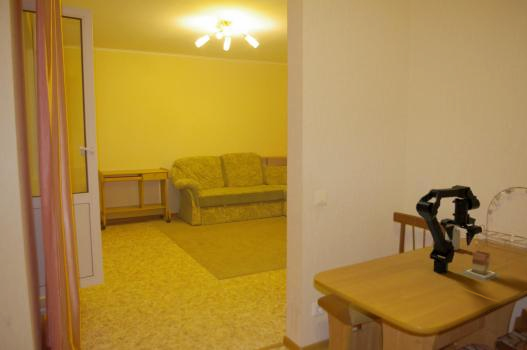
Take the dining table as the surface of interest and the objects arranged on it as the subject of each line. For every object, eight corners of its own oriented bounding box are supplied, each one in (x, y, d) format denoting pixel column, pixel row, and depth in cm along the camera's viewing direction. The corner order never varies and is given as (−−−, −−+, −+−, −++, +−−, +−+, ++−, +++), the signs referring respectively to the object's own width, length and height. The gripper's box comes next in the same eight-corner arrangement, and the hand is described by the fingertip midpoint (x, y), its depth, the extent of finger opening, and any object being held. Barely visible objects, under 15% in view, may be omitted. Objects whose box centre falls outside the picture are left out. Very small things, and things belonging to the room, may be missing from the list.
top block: (482, 266, 175) (483, 255, 174) (472, 262, 179) (472, 252, 178) (489, 263, 177) (489, 253, 176) (478, 260, 181) (479, 250, 181)
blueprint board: (485, 283, 171) (485, 279, 170) (460, 274, 181) (460, 270, 181) (500, 277, 177) (500, 273, 176) (475, 269, 187) (475, 265, 187)
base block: (482, 276, 175) (483, 266, 175) (471, 273, 180) (472, 262, 179) (488, 274, 178) (489, 264, 177) (478, 270, 182) (478, 260, 181)
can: (462, 250, 213) (463, 229, 211) (448, 251, 213) (449, 230, 211) (455, 246, 220) (456, 226, 218) (442, 246, 220) (443, 226, 219)
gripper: (490, 213, 181) (488, 245, 183) (455, 206, 197) (453, 235, 199) (475, 216, 176) (473, 249, 178) (440, 208, 192) (438, 239, 194)
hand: (459, 243), depth 188 cm, fingers open, 9 cm apart
